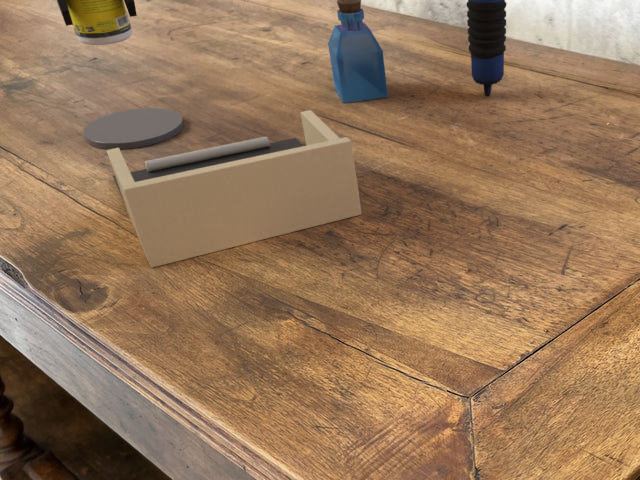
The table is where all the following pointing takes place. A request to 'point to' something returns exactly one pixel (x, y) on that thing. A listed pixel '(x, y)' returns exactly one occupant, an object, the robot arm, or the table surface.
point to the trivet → (133, 128)
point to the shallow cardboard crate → (238, 192)
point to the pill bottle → (99, 21)
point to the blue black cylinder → (487, 41)
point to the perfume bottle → (356, 56)
